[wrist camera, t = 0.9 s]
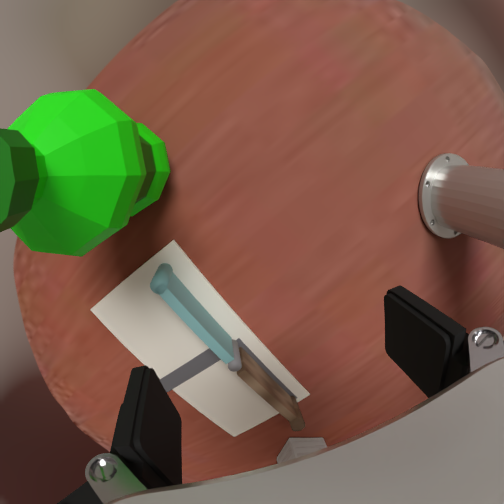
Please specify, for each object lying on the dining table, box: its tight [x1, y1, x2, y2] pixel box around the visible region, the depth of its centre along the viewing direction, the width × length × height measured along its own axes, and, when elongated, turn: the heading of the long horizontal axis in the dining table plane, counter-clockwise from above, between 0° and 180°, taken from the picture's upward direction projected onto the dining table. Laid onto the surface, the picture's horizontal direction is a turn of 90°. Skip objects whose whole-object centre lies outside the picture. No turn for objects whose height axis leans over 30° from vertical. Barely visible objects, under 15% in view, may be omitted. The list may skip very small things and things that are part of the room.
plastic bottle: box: [0, 89, 171, 256], centre depth 19 cm, size 10×10×25 cm
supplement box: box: [277, 438, 327, 463], centre depth 41 cm, size 7×7×13 cm
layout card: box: [91, 240, 310, 437], centre depth 39 cm, size 31×16×1 cm, turn 36°
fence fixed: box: [237, 347, 305, 431], centre depth 38 cm, size 14×2×6 cm, turn 36°
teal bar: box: [150, 263, 242, 372], centre depth 34 cm, size 15×2×5 cm, turn 36°
